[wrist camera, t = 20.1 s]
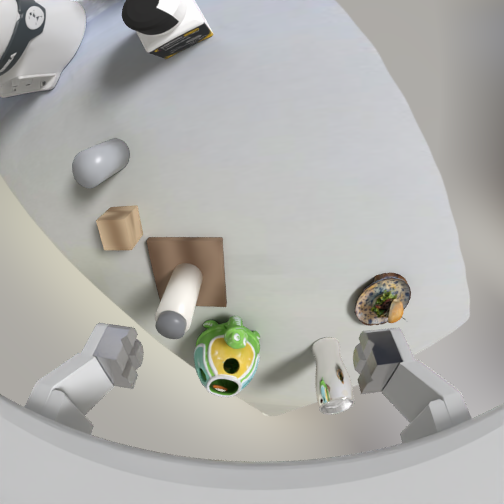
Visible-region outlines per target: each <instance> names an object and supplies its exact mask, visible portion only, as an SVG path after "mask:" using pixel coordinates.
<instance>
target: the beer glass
mask: <svg viewBox="0 0 504 504" xmlns="http://www.w3.org/2000/svg"><path fill="white" fill-rule="evenodd" d="M312 352H313V355H314V357H315V361H316V375H315V389H316V396H317V401H318V405H319V410H320V412H321V413H323V414H338V413H341V412H344V411H347V410H348V409H350V408H351V407H352V406H353V405H354V404H355V401H354V393H353V387H352V382H351V379H350V376H349V373H348V371H347V369H346V367H345V365H344V363H343V361H342V358H341V355H340V343H339V341H338V340H337V339H336V338H333V337H325V338H322V339H319V340H317V341H316V342H315V343H314V344H313V345H312Z"/></svg>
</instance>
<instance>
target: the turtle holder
mask: <svg viewBox="0 0 504 504" xmlns="http://www.w3.org/2000/svg"><path fill="white" fill-rule="evenodd" d="M203 326H204V327H205V328H208V329H207V330H205V331H204V332H202V333H201V335H200V336H199V337H198V339H197V342H196V348H195V350H194V361H195V368H196V372H197V374H198V377H199V379H200V381H201V383H202V385H203V386H204V387H205V388H206V389H207V390H208V392H210V393H211V394H214V395H217V396H222V397H232V396H235V395H236V394H238V393H239V392H240V391H241V390H242V389H243V388H244V387H246V386H247V385H248V383H249V382H250V381H251V380H252V378H253V376H254V374H255V372H256V369H257V366H258V363H259V360H260V355H259V350H260V345H259V339H260V335H259V333H258V332H256V331H253V332H252V331H250V330H249V329H247V328H246V327H244V326H243V323H242V320H241V318H240V317H238V316H232V317H231V318H230V319H229V321H228V322H226V323H223V324H219V325H218V323H217V322H216V321H214V320H209V321H206V322H205V323H204V324H203ZM215 388H219V389H223V390H226V391H225V392H221V391H218V390H216V389H215Z"/></svg>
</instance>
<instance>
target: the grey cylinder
mask: <svg viewBox="0 0 504 504" xmlns="http://www.w3.org/2000/svg"><path fill="white" fill-rule="evenodd" d="M129 158H130V152H129V148H128V146H127V144H126V143H125V142H124V141H122V140H121V139H117V138H114V139H110V140H108V141H105V142H102V143H100V144H97V145H95V146H92V147H90V148H88V149H85V150H83V151H81V152H79V153H78V154H77V155H76V156H75V158H74V160H73V164H72V171H73V175H74V178H75V179H76V181H77V182H78V183H79V184H80V185H81V186H83V187H85V188H93V187H95V186H97V185H98V184H100V183H101V182H103V181H104V180H106V179H107V178H109V177H110V176H112V175H113V174H115V173H117V172H118V171H120V170H121V169H123V168H124V167H125V166H126V165H127V164H128V162H129Z"/></svg>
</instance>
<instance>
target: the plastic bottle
mask: <svg viewBox="0 0 504 504" xmlns="http://www.w3.org/2000/svg"><path fill="white" fill-rule="evenodd" d="M202 280H203V276H202V273H201V271H200V270H199V268H197V267H196V266H194V265H192V264H189V263H182V264H179V265H177V266H176V267H175V269H174V271H173V273H172V275H171V278H170V280H169V282H168V285H167V287H166V290H165V292H164V294H163V297H162V299H161V302H160V304H159V307H158V309H157V312H156V314H155V320H156V329H157V331H158V332H159V333H160V334H161V335H162V336H164V337H166V338H170V339H179V338H181V337H183V335H184V333H185V332H186V331H187V330H188V329H189V328H190V325H191V321H192V317H193V313H194V309H195V306H196V302H197V298H198V294H199V291H200V287H201V283H202Z"/></svg>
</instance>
